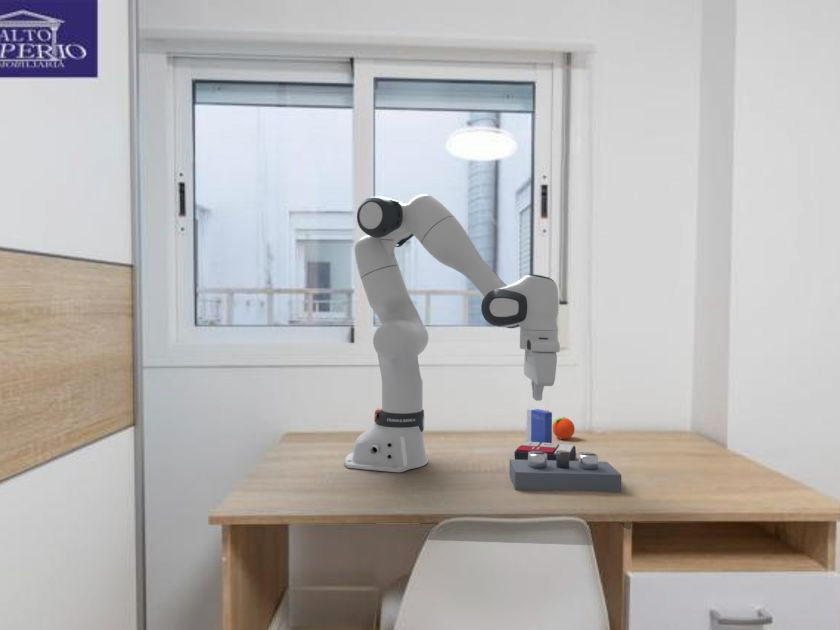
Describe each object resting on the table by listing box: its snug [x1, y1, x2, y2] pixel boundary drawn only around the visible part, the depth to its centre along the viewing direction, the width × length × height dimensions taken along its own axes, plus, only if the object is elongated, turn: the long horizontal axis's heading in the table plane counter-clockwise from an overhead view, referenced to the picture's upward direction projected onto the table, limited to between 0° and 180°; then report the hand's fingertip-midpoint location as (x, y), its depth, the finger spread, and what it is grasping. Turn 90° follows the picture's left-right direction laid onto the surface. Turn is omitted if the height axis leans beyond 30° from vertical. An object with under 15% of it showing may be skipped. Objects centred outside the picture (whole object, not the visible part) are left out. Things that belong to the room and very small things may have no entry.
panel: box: [509, 459, 622, 493], centre depth 116 cm, size 24×10×4 cm, turn 87°
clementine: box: [552, 416, 576, 440], centre depth 158 cm, size 8×7×7 cm
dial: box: [556, 450, 569, 469], centre depth 116 cm, size 3×3×4 cm
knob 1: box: [528, 451, 547, 469], centre depth 116 cm, size 4×4×7 cm
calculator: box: [513, 440, 577, 461], centre depth 136 cm, size 11×4×15 cm
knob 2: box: [578, 451, 599, 470], centre depth 116 cm, size 4×4×7 cm
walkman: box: [526, 407, 553, 444], centre depth 146 cm, size 8×3×12 cm, turn 31°
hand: (537, 399), depth 117 cm, fingers closed
